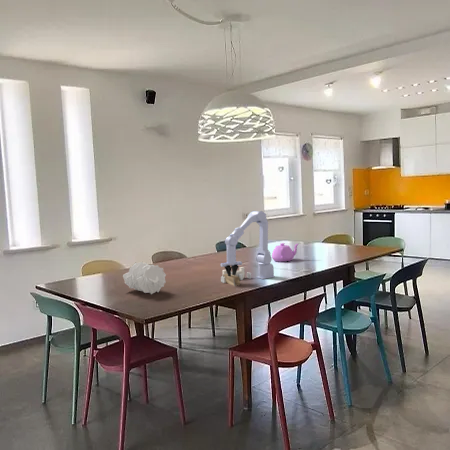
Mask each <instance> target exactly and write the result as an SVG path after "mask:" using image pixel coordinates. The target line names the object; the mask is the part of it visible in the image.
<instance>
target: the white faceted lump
mask: <svg viewBox="0 0 450 450" xmlns="http://www.w3.org/2000/svg"><path fill="white" fill-rule="evenodd" d="M166 276H167V274H166V273H165V271H164V268H163V267H160V266H159V264H157V265H154V264H148V263H147V262H143V261H140V262H138V263H137V262H135V263H134V264H133V265H132V266H130V267H129V269H128V272H126V273H124V274H123V275H122V279H123V280H124V284H125V285H127V286H128V289H134V290H135V291H138V292H139V291H140V292H143V293H145V294H146V293H149V294H150V295H153V294H155V293H156V292H157V293H159V292H160V290H161V289H162V288H164V287H165V284H166V283H167V282H166Z"/></svg>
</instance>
